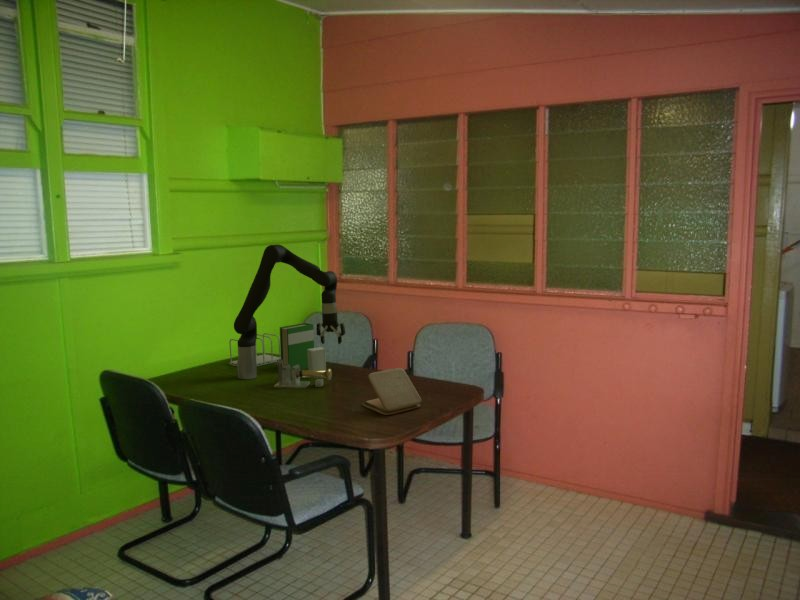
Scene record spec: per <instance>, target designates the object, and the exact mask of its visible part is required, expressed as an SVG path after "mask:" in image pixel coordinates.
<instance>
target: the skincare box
mask: <svg viewBox="0 0 800 600" xmlns="http://www.w3.org/2000/svg"><path fill="white" fill-rule="evenodd" d="M307 355H308V368H307V370H326V371H327V365H326V363H327V362H326V348H324V347H322V346H317V347H314V348H311V349H307ZM311 378H313V377H311Z"/></svg>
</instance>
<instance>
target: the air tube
mask: <svg viewBox="0 0 800 600" xmlns="http://www.w3.org/2000/svg"><path fill="white" fill-rule="evenodd" d="M332 376H333V371H332V368H326V370H308V369H307V370H306V369H301V370H296V377H300V378H312V377H313V378H317V379H324V378H325V379H326V380H328V381H329V380H330V381H331V380H332V378H333V377H332Z"/></svg>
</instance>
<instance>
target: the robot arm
mask: <svg viewBox="0 0 800 600" xmlns="http://www.w3.org/2000/svg"><path fill="white" fill-rule="evenodd" d="M278 263H283V264H286V265H289V266H291V267H292V268H294V269H295V270H296V271H297V272H298V273H300V274H302V275H303V276H305V277H308V278H309V279H311V280H312V281H313V282H315V283H316V284H318V285H319V286H322V287H324V290H323V291H322V292H321V315H322V317H321V318H322V319H321V320H322V323H321V322H318V323H316V336H319V337H320V343H321V345H324V344H325V342H326V341H325V339H326V338H325V334H326V333H335V334H336V335H337V344H338V345H341V343H342V342H343V341H342V340H343V339H342V337H343V336H345V335H346V327H345V323H344V322H341V323H340V322H339V321H338V320H339V319H338V306H337V305H338V304H337V295H336V293H337V287H338V277H337V274H336V273H335V272H334V271H332V270H329V271H328V270H327V271H324V270H323V271H322V270H321V268H320V267H319V266H318V265H316V264H315V263H312V262H310V261H308V260H306V259H304V258H302V257H300V256H298V255H296V254H295V253H294V252H292V251H290V250H289V249H288V248H287V247H285V246H283V244H278V243H277V244H269V245H268V246H266V247H265V249H264V251H263V253H262V256H261V260H260V263H259V266H258V269H257V272H256V274H255V276H254V279H253V281H252V283H251V285H250V287H249V290H248V293H247V295H246V298H245V300H244V302H243V305H242V307H241V309H240V310H239V312H238V314H237V316H236V318H235V320H234V322H233V330H234V331H235V332H236V334H239V335H240V337H239V338H240V339H239V338H238V339H237V340H238V341H237V356H238V357H237V360H238V361H237V366H236V367H237V379H240V380H253V379H256V378H257V377H258V371H257V370H258V368H257V367H258V366H257V364H256V348H257V340H258V339H257V338H258V335H257V334H258V329H257V328H258V326H257V324H258V323H257V320H256V318H255V317H254V315H255V313H256V311H257V310H258V309H259V308H260V307H261V305H262V304H263V303H264V302H265V300H266V298H267V295H268V294H269V291H270V288H271V275H272V272H273V270H274V267H275V266H276V264H278ZM338 327H339V328H338ZM321 328H323V329H322V331H321Z"/></svg>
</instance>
